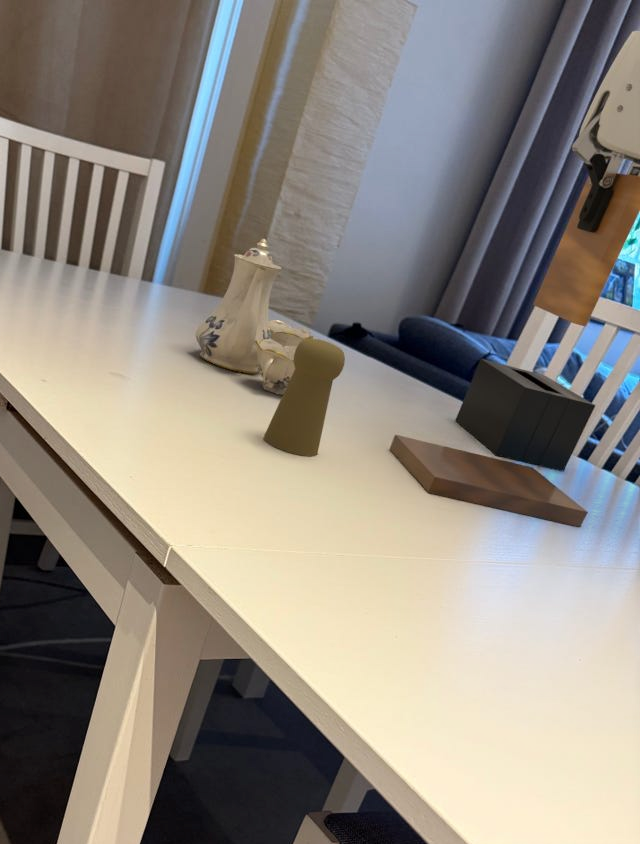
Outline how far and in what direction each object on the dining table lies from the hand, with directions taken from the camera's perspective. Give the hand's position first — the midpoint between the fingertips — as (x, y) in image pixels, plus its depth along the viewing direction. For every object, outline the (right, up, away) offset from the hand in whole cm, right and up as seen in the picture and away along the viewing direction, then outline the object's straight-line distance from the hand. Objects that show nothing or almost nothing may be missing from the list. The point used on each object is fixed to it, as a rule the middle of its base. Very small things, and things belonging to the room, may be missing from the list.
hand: (595, 232), depth 96 cm
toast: (-2, -7, +4) cm, 9 cm away
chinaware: (-33, -5, +32) cm, 46 cm away
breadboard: (-9, -25, +8) cm, 28 cm away
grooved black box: (+3, -15, +32) cm, 35 cm away
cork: (-31, -22, +3) cm, 38 cm away
